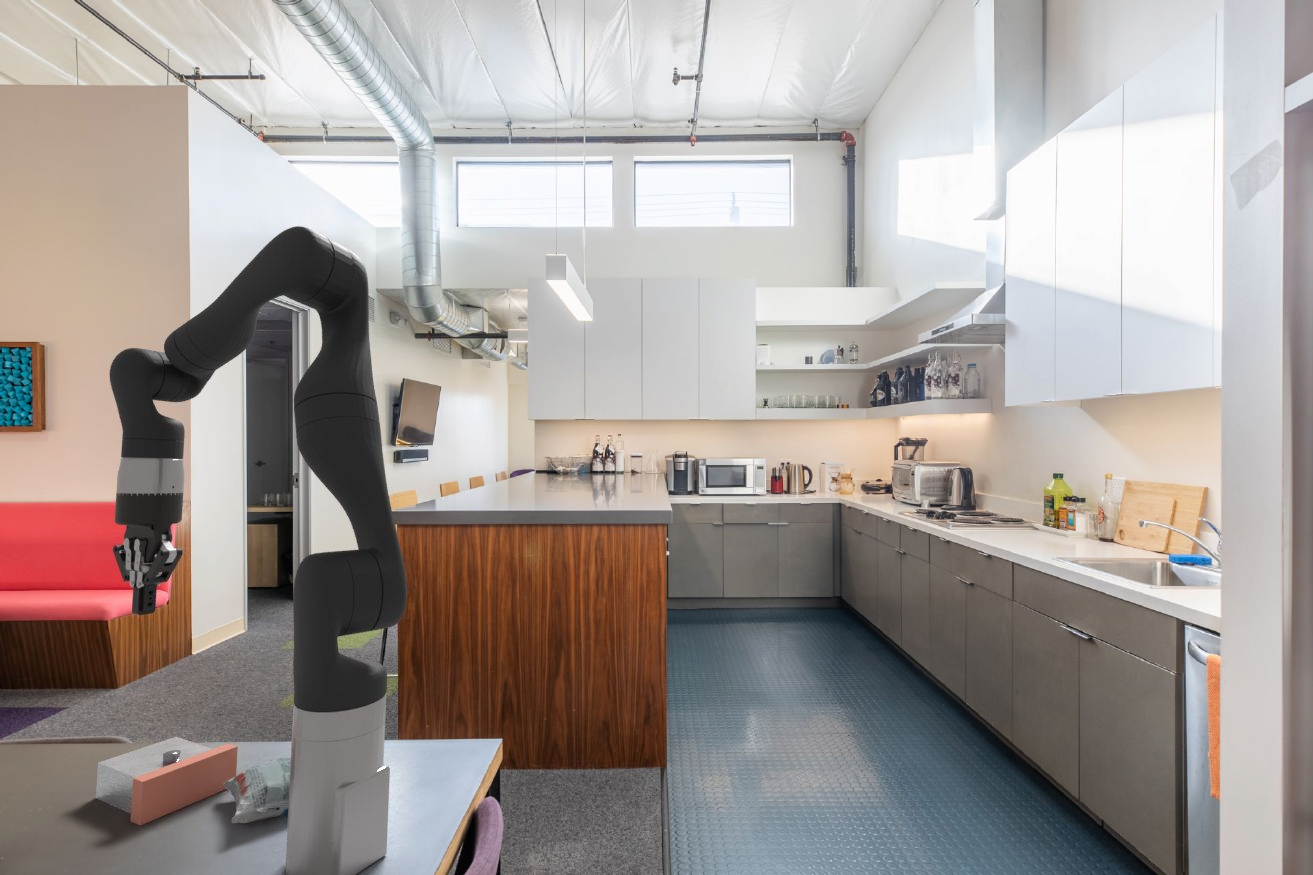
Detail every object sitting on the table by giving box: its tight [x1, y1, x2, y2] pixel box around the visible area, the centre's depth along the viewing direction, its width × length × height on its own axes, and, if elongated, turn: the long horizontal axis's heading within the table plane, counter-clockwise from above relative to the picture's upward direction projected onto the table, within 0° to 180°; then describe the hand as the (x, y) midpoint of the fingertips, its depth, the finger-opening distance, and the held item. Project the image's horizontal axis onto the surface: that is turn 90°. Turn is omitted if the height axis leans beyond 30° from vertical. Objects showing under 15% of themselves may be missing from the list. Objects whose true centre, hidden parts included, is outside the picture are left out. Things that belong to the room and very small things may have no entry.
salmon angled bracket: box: [130, 743, 239, 826], centre depth 83 cm, size 12×11×5 cm
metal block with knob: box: [95, 736, 213, 815], centre depth 83 cm, size 10×9×6 cm
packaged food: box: [223, 757, 291, 824], centre depth 80 cm, size 9×12×5 cm
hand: (143, 613), depth 90 cm, fingers closed
